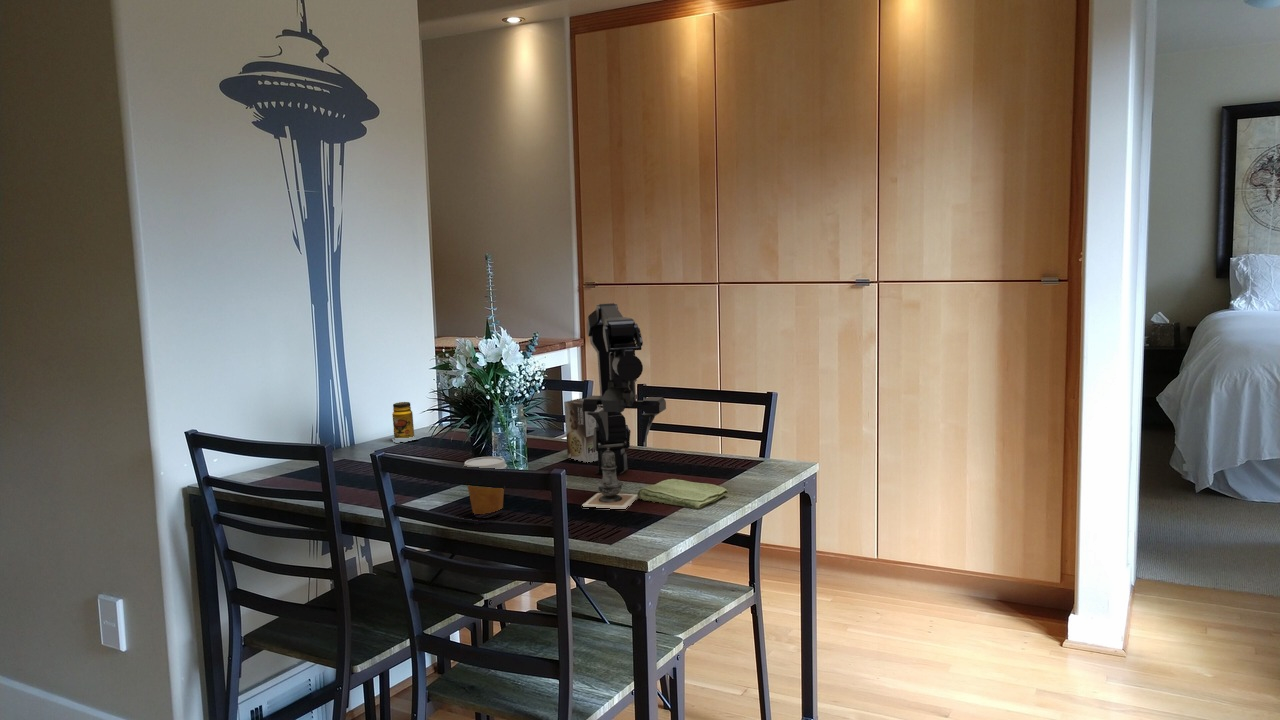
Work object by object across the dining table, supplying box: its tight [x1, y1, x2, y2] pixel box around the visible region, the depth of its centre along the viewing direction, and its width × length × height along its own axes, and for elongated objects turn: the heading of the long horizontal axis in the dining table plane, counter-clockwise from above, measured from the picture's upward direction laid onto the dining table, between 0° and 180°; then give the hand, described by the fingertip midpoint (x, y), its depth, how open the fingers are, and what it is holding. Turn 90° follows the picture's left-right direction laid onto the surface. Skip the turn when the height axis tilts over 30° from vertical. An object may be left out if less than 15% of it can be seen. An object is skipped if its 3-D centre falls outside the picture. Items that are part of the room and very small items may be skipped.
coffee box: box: [563, 398, 600, 464], centre depth 247 cm, size 9×6×16 cm
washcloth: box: [636, 478, 729, 510], centre depth 205 cm, size 13×18×3 cm
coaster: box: [581, 492, 639, 510], centre depth 204 cm, size 10×10×1 cm
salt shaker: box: [596, 447, 624, 502], centre depth 203 cm, size 6×6×12 cm
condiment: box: [392, 401, 415, 439], centre depth 283 cm, size 7×8×12 cm
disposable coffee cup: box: [463, 456, 508, 514], centre depth 198 cm, size 10×10×12 cm
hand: (625, 441), depth 209 cm, fingers open, 9 cm apart
